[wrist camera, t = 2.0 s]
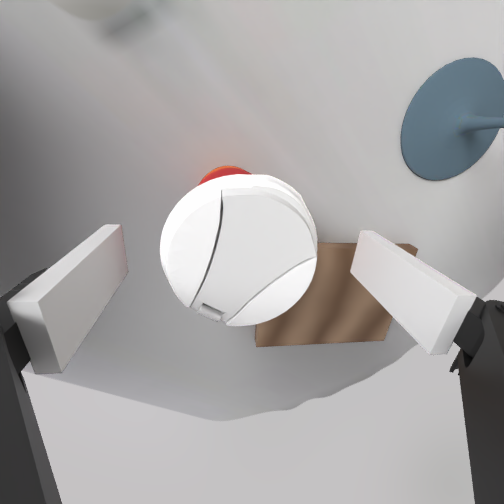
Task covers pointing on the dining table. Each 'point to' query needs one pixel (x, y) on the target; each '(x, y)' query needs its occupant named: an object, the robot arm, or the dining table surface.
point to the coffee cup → (239, 247)
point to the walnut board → (330, 306)
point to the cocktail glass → (453, 119)
